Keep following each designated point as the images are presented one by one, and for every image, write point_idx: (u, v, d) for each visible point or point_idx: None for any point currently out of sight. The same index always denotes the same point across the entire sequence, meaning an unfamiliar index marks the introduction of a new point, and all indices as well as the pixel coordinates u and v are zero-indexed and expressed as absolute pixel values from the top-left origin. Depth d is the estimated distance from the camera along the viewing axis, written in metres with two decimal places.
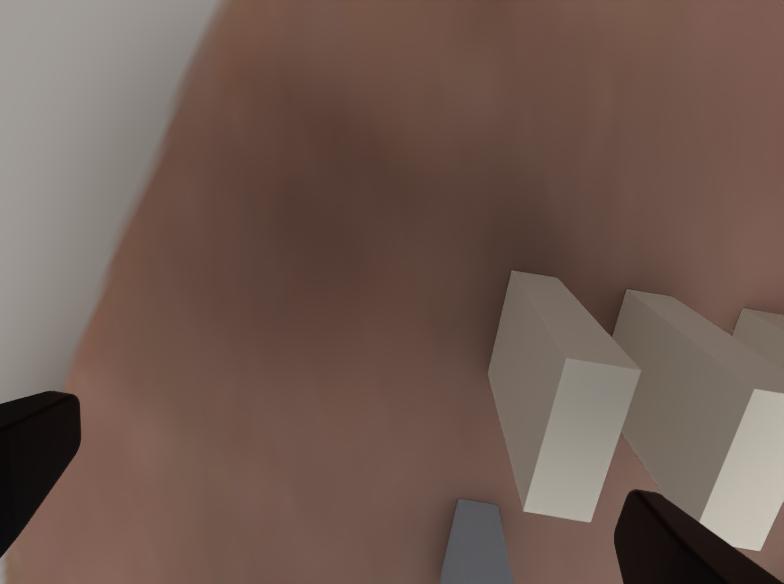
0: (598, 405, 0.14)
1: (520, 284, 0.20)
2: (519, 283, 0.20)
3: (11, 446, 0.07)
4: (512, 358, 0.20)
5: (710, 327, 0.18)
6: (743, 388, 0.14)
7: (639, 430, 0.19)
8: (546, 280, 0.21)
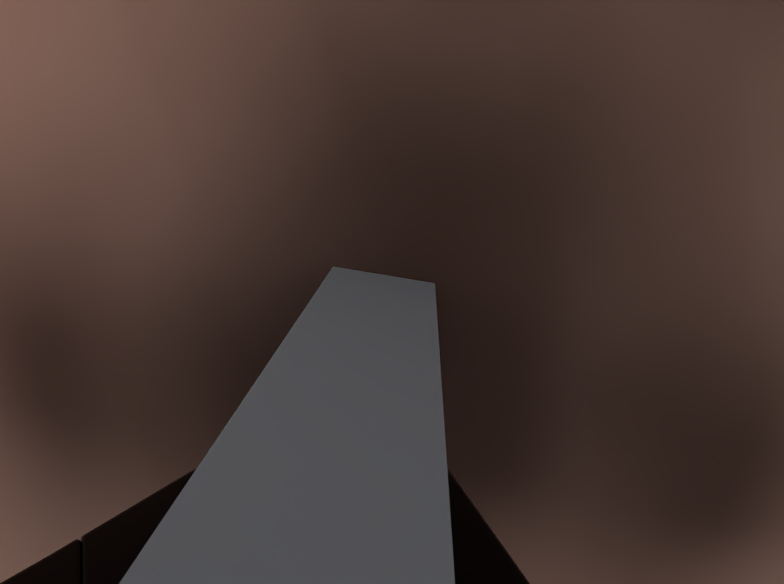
0: None
1: None
2: None
3: None
4: None
5: None
6: None
7: None
8: None
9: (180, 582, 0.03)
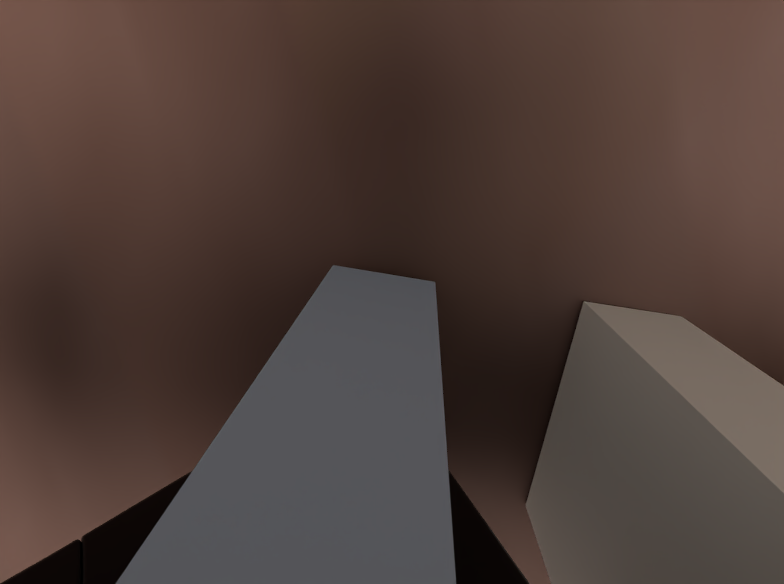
0: None
1: (628, 344, 0.08)
2: (623, 341, 0.08)
3: None
4: (622, 542, 0.08)
5: None
6: None
7: None
8: (669, 326, 0.10)
9: (178, 582, 0.03)
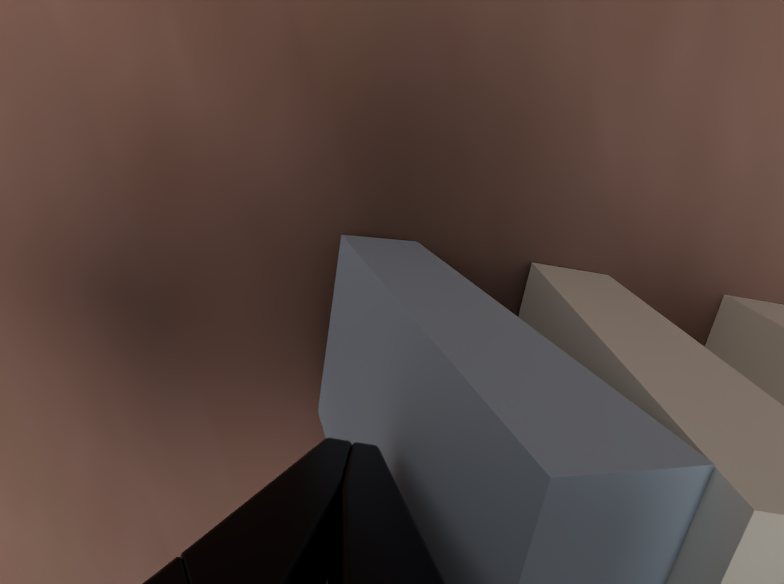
0: None
1: (553, 287, 0.11)
2: (551, 285, 0.11)
3: (338, 502, 0.07)
4: None
5: None
6: None
7: None
8: (593, 279, 0.12)
9: (490, 382, 0.06)
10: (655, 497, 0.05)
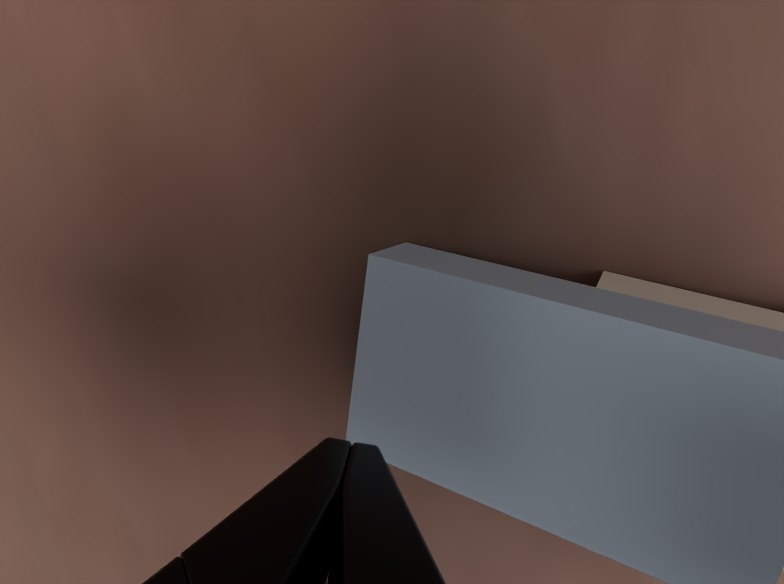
0: None
1: None
2: None
3: (338, 502, 0.07)
4: None
5: None
6: None
7: None
8: (638, 284, 0.12)
9: (737, 344, 0.09)
10: None
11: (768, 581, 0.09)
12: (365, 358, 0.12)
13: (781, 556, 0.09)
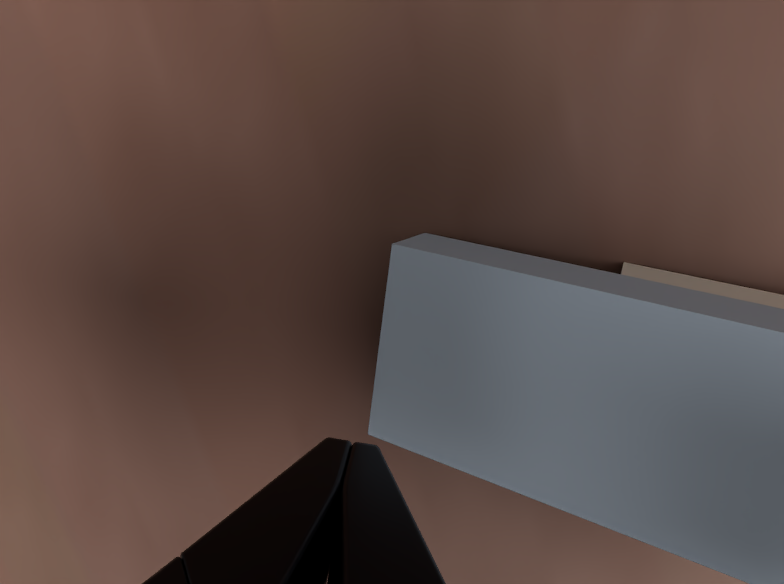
0: None
1: None
2: None
3: (338, 502, 0.07)
4: None
5: None
6: None
7: None
8: (660, 274, 0.12)
9: (762, 325, 0.09)
10: None
11: None
12: (388, 347, 0.12)
13: None
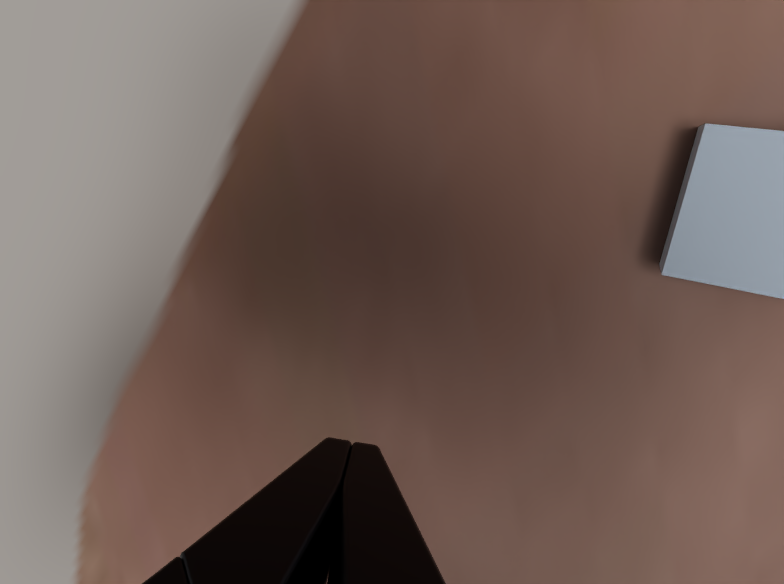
0: None
1: None
2: None
3: (338, 502, 0.07)
4: None
5: None
6: None
7: None
8: None
9: None
10: None
11: None
12: (691, 203, 0.17)
13: None
